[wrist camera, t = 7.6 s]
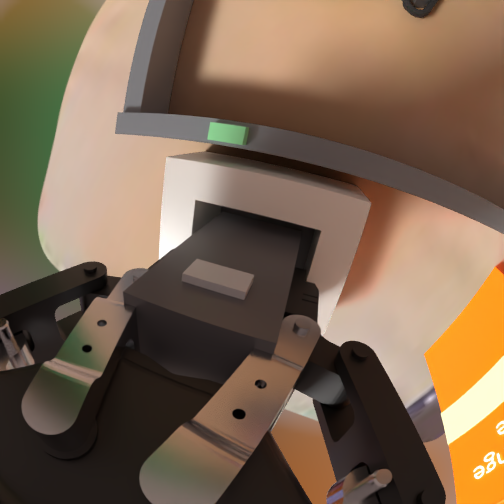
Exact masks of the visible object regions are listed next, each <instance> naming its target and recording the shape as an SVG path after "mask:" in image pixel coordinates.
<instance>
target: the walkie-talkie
mask: <svg viewBox="0 0 504 504" xmlns="http://www.w3.org/2000/svg"><path fill="white" fill-rule="evenodd" d="M402 1H403V6H404V8H405V10H407V11H408V12H409V13H410V14H411V15H412V16H414V17H419V18H422V17H424V16H426V15H428V14H429V13H430V12H431V10H432V9H433V7H434V6H435V4H436V3H437V1H438V0H402ZM428 2H429V3H428ZM426 5H427V6H426ZM425 6H426V7H425ZM415 7H417V8H424V7H425V8H424V9H422V10H418V9H416V8H415Z"/></svg>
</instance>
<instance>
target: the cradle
mask: <svg viewBox="0 0 504 504" xmlns="http://www.w3.org/2000/svg"><path fill="white" fill-rule="evenodd" d="M193 1H194V0H149V3H148V6H147V9H146V12H145V16H144V19H143V22H142V26H141V29H140V33H139V37H138V41H137V45H136V49H135V53H134V57H133V62H132V66H131V71H130V76H129V81H128V87H127V92H126V99H125V105H124V112H123V113H118V115H117V122H116V131H115V134H128V135H142V136H153V137H163V138H173V139H181V140H189V141H197V142H204V143H211V144H217V145H223V146H229V147H235V148H241V149H246V150H251V151H257V152H262V153H267V154H271V155H276V156H281V157H285V158H290V159H294V160H298V161H302V162H307V163H311V164H315V165H318V166H322V167H326V168H330V169H333V170H337V171H341V172H344V173H348V174H351V175H355V176H358V177H361V178H364V179H368V180H371V181H374V182H377V183H380V184H383V185H386V186H389V187H392V188H395V189H398V190H401V191H404V192H407V193H409V194H412V195H415V196H418V197H420V198H423V199H426V200H428V201H431V202H433V203H436V204H438V205H441V206H443V207H446V208H448V209H451V210H453V211H455V212H458V213H460V214H462V215H464V216H467V217H469V218H471V219H473V220H476V221H478V222H480V223H482V224H484V225H486V226H488V227H490V228H493V229H495V230H497V231H499V232H501V233H503V234H504V209H502V208H501V207H499V206H497V205H495V204H493V203H491V202H490V201H488V200H486V199H484V198H482V197H480V196H478V195H476V194H474V193H472V192H470V191H468V190H466V189H464V188H461V187H459V186H457V185H455V184H453V183H451V182H448V181H446V180H444V179H441V178H439V177H437V176H434V175H432V174H430V173H427V172H425V171H422V170H420V169H417V168H414V167H412V166H409V165H407V164H404V163H401V162H398V161H396V160H393V159H390V158H387V157H384V156H381V155H378V154H375V153H372V152H369V151H366V150H362V149H359V148H356V147H352V146H349V145H345V144H342V143H338V142H334V141H331V140H327V139H323V138H319V137H315V136H311V135H307V134H302V133H298V132H293V131H288V130H284V129H279V128H274V127H268V126H263V125H257V124H251V123H245V122H238V121H231V120H224V119H216V118H208V117H198V116H187V115H175V114H168V110H169V104H170V98H171V92H172V87H173V82H174V77H175V72H176V67H177V62H178V58H179V53H180V49H181V45H182V41H183V37H184V33H185V29H186V25H187V21H188V18H189V14H190V11H191V7H192V4H193Z"/></svg>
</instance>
